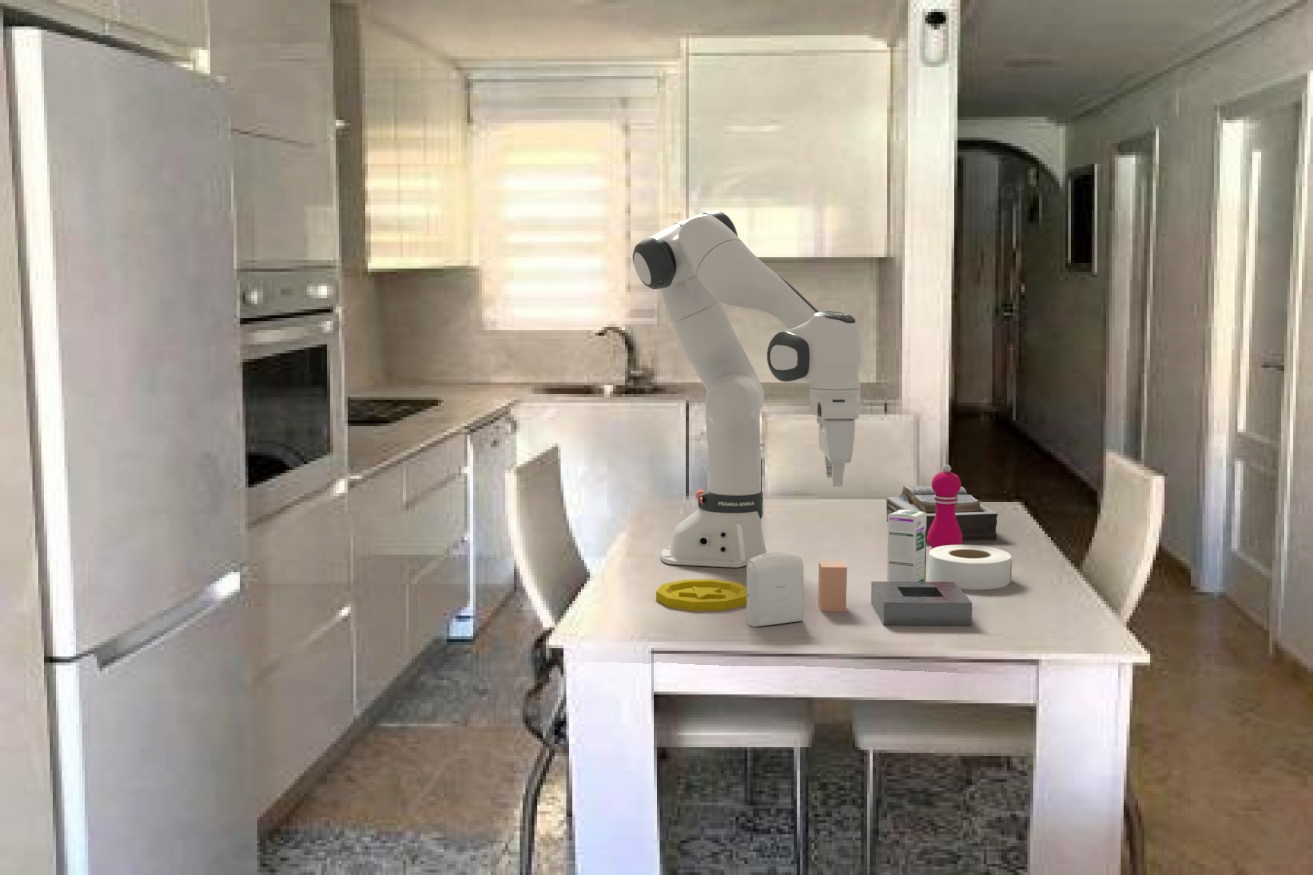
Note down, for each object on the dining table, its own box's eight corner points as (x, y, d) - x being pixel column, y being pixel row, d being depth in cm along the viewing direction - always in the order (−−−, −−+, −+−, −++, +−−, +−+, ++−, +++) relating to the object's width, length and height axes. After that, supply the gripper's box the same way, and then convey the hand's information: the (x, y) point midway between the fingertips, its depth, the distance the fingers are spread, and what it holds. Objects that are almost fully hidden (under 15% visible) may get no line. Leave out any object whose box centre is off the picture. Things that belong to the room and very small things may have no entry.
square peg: (820, 611, 236) (821, 567, 235) (818, 604, 241) (818, 561, 239) (846, 611, 236) (846, 567, 235) (842, 604, 240) (843, 561, 239)
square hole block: (883, 625, 227) (884, 602, 226) (870, 602, 242) (871, 581, 241) (971, 625, 226) (972, 602, 226) (953, 603, 241) (954, 581, 241)
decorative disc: (684, 585, 256) (684, 575, 256) (766, 597, 247) (766, 586, 247) (639, 604, 242) (639, 593, 242) (724, 617, 233) (724, 606, 233)
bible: (982, 521, 320) (983, 480, 319) (1000, 544, 293) (1002, 501, 292) (884, 519, 322) (885, 479, 321) (894, 543, 295) (895, 499, 294)
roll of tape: (1014, 592, 250) (1015, 563, 250) (928, 588, 253) (929, 560, 253) (1007, 573, 266) (1008, 546, 265) (927, 569, 269) (928, 543, 268)
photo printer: (753, 628, 225) (754, 557, 223) (742, 622, 229) (743, 552, 227) (807, 622, 229) (808, 552, 227) (795, 616, 232) (796, 547, 231)
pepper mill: (962, 563, 273) (965, 467, 271) (926, 562, 275) (929, 466, 272) (961, 556, 280) (964, 462, 278) (926, 554, 282) (929, 461, 279)
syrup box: (915, 591, 250) (917, 516, 248) (885, 587, 253) (887, 512, 251) (926, 585, 255) (928, 511, 253) (897, 581, 258) (898, 508, 256)
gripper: (811, 398, 244) (810, 472, 246) (822, 410, 223) (822, 491, 225) (845, 398, 244) (844, 472, 245) (860, 410, 223) (859, 491, 225)
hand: (834, 481), depth 235 cm, fingers open, 8 cm apart
